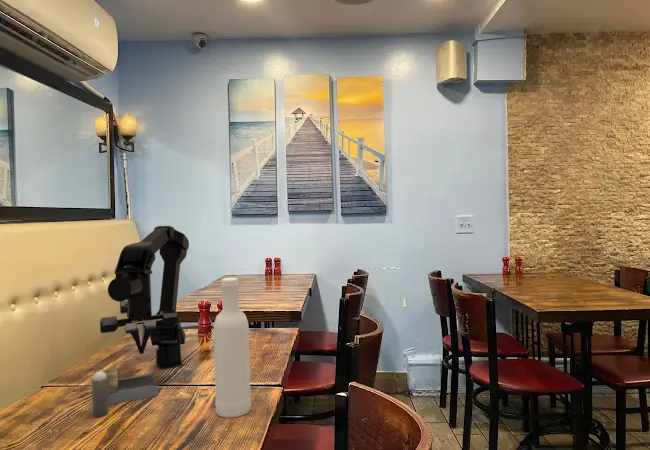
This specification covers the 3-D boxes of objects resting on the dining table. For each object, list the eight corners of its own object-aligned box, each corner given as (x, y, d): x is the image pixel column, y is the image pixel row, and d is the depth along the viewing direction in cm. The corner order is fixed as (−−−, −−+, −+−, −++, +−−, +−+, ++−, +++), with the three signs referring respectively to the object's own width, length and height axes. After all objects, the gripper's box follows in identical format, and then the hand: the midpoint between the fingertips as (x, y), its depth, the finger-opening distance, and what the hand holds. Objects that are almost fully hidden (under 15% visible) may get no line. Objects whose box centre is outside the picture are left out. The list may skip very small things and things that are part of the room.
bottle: (257, 405, 108) (254, 276, 107) (240, 420, 101) (236, 281, 100) (227, 401, 111) (223, 275, 110) (208, 415, 103) (204, 280, 102)
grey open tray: (153, 382, 125) (153, 362, 124) (158, 395, 116) (157, 373, 115) (95, 392, 118) (94, 371, 118) (95, 407, 109) (94, 383, 109)
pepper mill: (108, 410, 107) (107, 368, 107) (108, 415, 105) (107, 372, 104) (92, 413, 106) (91, 370, 106) (92, 418, 103) (91, 374, 103)
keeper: (117, 388, 118) (116, 368, 118) (118, 394, 114) (117, 373, 114) (99, 391, 116) (98, 371, 116) (99, 397, 112) (99, 376, 112)
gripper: (171, 286, 132) (173, 340, 133) (98, 292, 124) (100, 351, 124) (178, 292, 122) (180, 351, 123) (99, 299, 114) (101, 363, 114)
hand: (141, 353), depth 121 cm, fingers closed
